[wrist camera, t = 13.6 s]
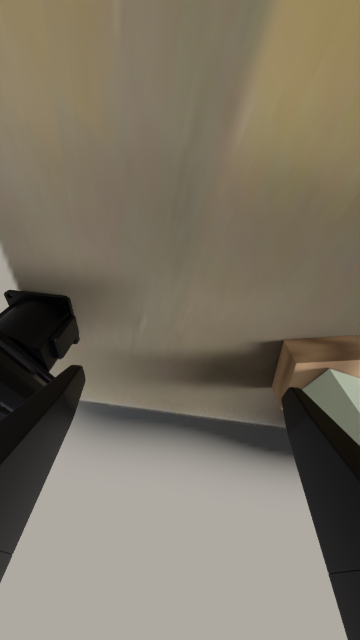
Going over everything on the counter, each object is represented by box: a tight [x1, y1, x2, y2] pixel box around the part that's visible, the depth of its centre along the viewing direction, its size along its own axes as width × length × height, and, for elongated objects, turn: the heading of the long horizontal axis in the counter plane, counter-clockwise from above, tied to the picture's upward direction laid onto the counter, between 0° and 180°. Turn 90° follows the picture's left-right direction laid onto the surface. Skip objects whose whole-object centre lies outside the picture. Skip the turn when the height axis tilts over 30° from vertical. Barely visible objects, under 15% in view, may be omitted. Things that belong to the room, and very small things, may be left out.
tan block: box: [272, 335, 360, 410], centre depth 26 cm, size 9×9×4 cm
